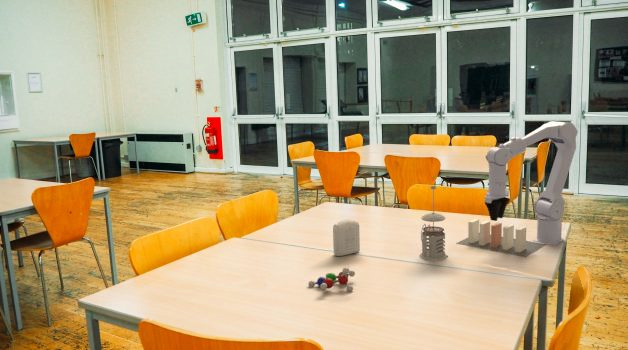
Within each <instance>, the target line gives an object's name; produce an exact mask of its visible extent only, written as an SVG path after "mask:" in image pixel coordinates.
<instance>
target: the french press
mask: <svg viewBox="0 0 628 350" xmlns="http://www.w3.org/2000/svg"><path fill="white" fill-rule="evenodd" d="M430 190H432V212H429V213H425V214H424V215H422V216H421V220H422V221H424V222H429V223H432V224H433V225H432V226H431V224H428V225H426V223H424V224H423V225H422V227H421V231H420V239H421V253H420V254H419V258H421V259H422V260H425V261H432V262H437V261H438V262H439V261H444V260H447V259H448V258H449V256H448V255H447V253H446V252H445V251H446V248H445V247H446V233H445V232H444V231H445V229H444V227H441V226H435V223H437V222H442V221H444V220H445V219H446V217H445V216H444V215H443V214H441V213H437V212H435V211H434V210H435V208H434V207H435V205H434V203H435V201H434V200H435V199H434V196H435V194H434V191H435V190H437V186H435V185H431V186H430Z"/></svg>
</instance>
